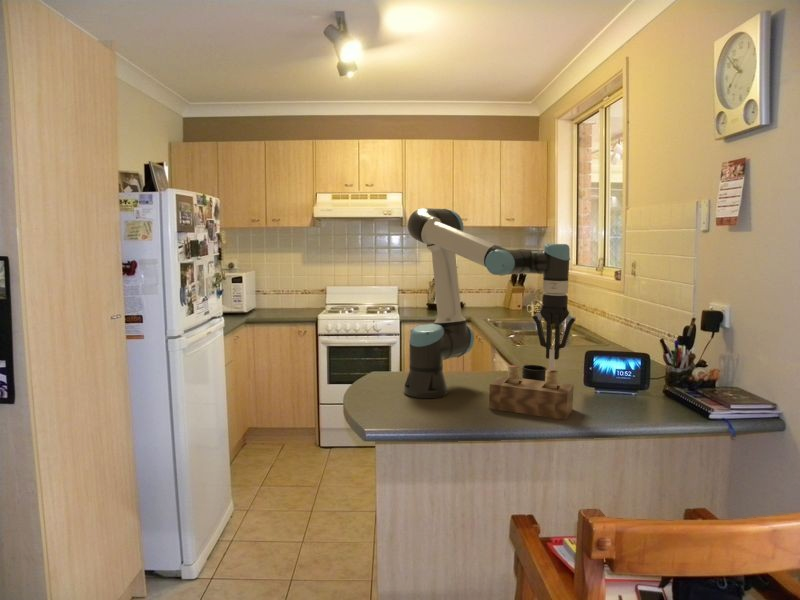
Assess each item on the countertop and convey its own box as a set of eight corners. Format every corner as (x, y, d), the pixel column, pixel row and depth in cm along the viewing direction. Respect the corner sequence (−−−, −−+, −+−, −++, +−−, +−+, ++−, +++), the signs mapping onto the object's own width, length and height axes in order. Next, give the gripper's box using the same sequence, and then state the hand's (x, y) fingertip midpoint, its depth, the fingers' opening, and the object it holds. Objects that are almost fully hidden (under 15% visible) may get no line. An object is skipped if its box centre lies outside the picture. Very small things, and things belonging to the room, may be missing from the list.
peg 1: (505, 390, 180) (506, 367, 180) (508, 387, 184) (509, 365, 183) (517, 391, 179) (517, 368, 178) (519, 388, 182) (520, 366, 181)
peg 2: (543, 395, 175) (544, 371, 174) (545, 392, 178) (547, 369, 178) (555, 396, 174) (556, 373, 173) (557, 393, 177) (558, 370, 176)
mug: (536, 387, 204) (537, 362, 203) (549, 397, 193) (550, 370, 192) (514, 388, 203) (515, 362, 202) (526, 397, 192) (527, 370, 190)
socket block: (489, 408, 179) (489, 384, 178) (499, 398, 190) (500, 375, 189) (566, 420, 169) (567, 394, 168) (572, 409, 180) (573, 384, 179)
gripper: (531, 294, 172) (528, 369, 175) (575, 296, 166) (571, 374, 169) (536, 291, 179) (533, 364, 181) (578, 294, 173) (575, 369, 176)
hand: (551, 369), depth 175 cm, fingers closed
